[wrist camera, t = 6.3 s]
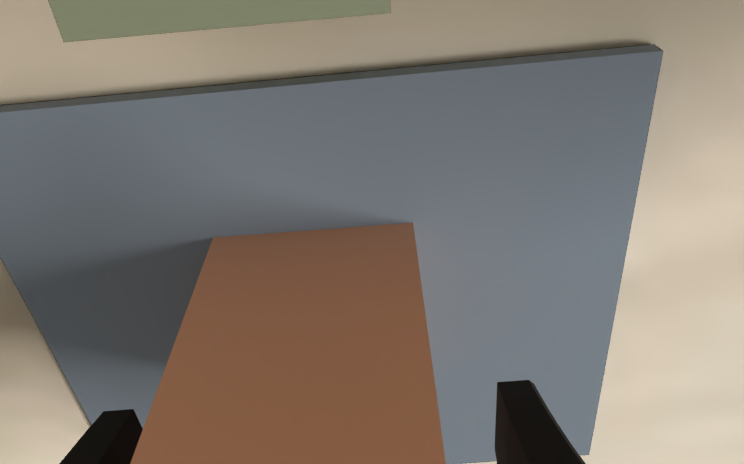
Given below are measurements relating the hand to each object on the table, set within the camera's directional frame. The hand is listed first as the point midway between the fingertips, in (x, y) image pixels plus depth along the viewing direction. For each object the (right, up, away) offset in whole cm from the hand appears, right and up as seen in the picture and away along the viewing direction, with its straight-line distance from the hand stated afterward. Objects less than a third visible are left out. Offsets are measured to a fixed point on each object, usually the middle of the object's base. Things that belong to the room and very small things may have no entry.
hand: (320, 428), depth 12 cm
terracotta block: (0, +2, +2) cm, 3 cm away
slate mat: (0, +2, +3) cm, 3 cm away
